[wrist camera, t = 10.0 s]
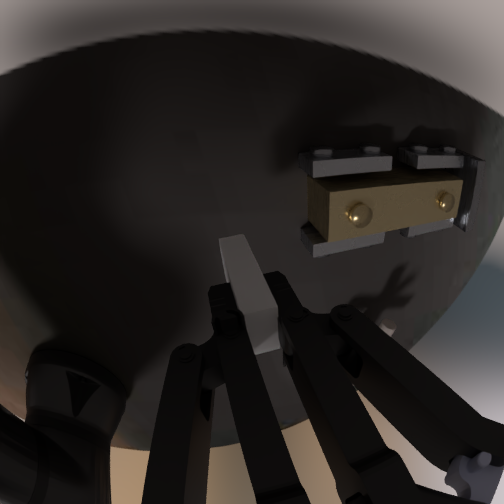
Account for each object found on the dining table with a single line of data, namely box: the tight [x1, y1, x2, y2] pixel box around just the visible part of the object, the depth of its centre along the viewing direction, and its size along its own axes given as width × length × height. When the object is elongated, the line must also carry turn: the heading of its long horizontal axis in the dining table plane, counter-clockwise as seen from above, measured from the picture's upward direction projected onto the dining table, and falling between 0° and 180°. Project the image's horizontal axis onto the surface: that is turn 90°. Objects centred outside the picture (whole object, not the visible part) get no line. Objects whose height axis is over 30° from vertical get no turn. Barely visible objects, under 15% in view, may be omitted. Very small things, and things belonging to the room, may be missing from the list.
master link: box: [307, 167, 463, 243], centre depth 22 cm, size 15×4×5 cm, turn 96°
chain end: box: [298, 143, 392, 258], centre depth 22 cm, size 7×9×3 cm
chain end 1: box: [397, 143, 486, 238], centre depth 23 cm, size 9×9×4 cm
